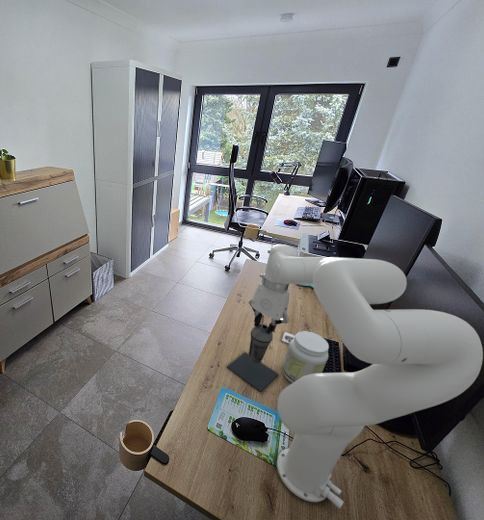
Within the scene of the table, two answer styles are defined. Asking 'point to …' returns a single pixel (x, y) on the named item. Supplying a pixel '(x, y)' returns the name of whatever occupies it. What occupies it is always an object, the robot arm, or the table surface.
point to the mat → (252, 372)
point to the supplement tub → (305, 356)
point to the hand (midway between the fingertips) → (263, 327)
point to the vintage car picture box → (287, 337)
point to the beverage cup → (259, 342)
